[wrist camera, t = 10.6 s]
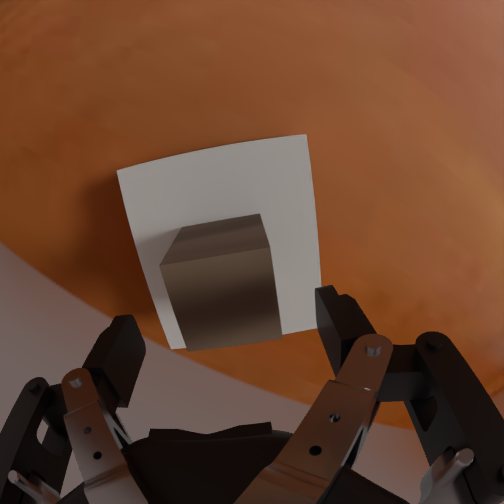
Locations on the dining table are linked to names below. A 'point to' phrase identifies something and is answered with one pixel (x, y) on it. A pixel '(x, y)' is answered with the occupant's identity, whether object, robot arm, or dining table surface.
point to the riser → (230, 215)
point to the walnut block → (222, 284)
